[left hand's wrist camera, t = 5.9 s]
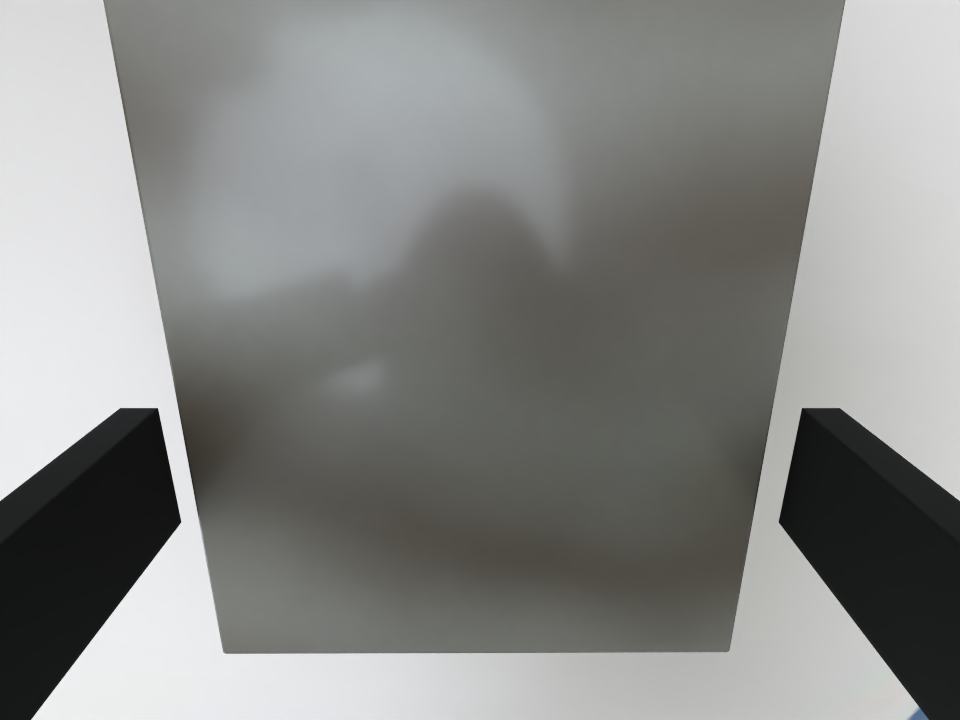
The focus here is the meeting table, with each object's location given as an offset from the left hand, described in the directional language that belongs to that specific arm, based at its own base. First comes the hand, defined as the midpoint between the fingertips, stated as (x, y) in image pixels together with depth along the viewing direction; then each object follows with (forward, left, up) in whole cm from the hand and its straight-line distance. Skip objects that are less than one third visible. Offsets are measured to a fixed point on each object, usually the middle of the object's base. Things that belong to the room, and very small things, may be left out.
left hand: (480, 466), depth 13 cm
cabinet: (+3, -5, -11) cm, 13 cm away
